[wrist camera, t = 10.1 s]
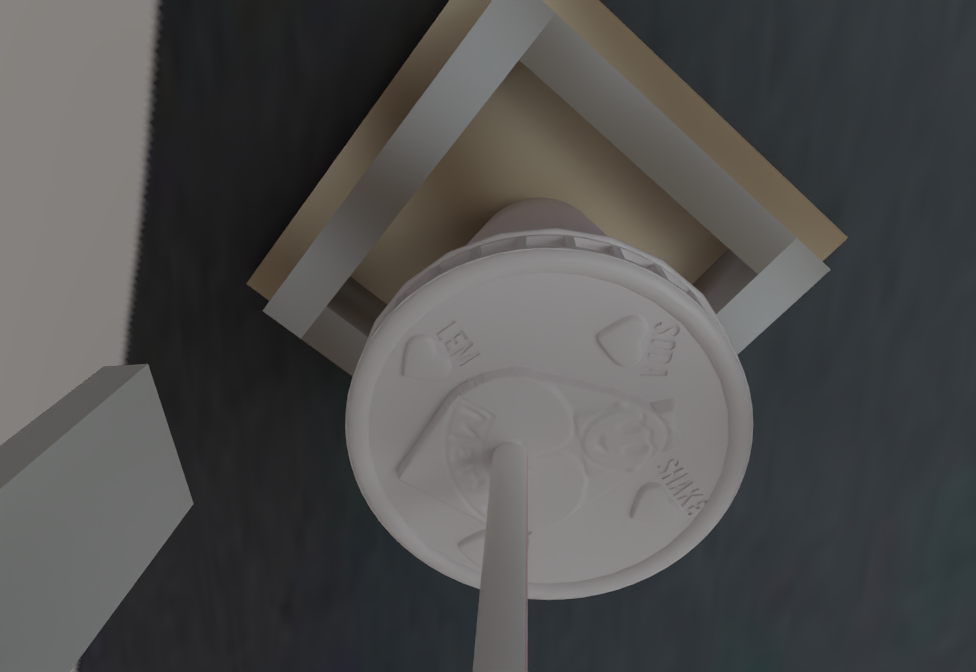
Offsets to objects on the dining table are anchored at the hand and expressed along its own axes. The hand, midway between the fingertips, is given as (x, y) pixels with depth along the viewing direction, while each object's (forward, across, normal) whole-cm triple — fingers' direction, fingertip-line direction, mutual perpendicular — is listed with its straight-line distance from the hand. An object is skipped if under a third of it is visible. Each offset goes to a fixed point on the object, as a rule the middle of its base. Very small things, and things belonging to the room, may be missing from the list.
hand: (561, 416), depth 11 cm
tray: (+10, 0, 0) cm, 10 cm away
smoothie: (+10, 0, 0) cm, 10 cm away
